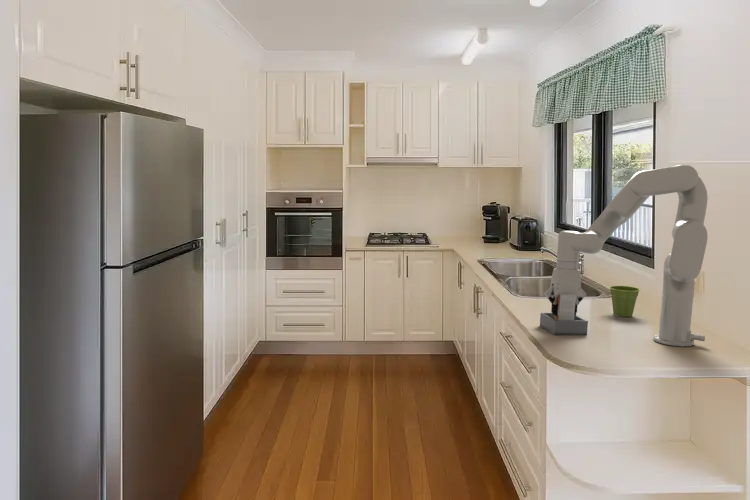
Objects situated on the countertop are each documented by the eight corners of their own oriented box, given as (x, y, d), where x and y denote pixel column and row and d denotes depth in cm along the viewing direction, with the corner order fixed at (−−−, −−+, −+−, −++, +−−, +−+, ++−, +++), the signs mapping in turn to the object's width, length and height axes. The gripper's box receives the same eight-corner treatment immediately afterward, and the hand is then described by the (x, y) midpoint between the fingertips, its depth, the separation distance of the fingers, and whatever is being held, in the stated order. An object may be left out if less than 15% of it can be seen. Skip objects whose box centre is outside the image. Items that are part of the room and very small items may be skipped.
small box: (553, 318, 227) (555, 290, 226) (568, 319, 227) (570, 291, 226) (557, 323, 220) (559, 294, 218) (573, 324, 219) (576, 295, 218)
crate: (570, 325, 231) (571, 312, 230) (586, 334, 218) (587, 321, 217) (539, 326, 229) (540, 312, 229) (554, 335, 216) (555, 321, 216)
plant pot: (608, 310, 260) (610, 284, 259) (638, 314, 255) (641, 287, 254) (605, 316, 250) (607, 288, 248) (637, 320, 245) (639, 291, 243)
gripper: (585, 264, 226) (581, 312, 228) (540, 263, 223) (536, 312, 225) (595, 267, 218) (591, 317, 220) (548, 266, 216) (545, 317, 218)
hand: (563, 314), depth 223 cm, fingers closed on small box, 6 cm apart
